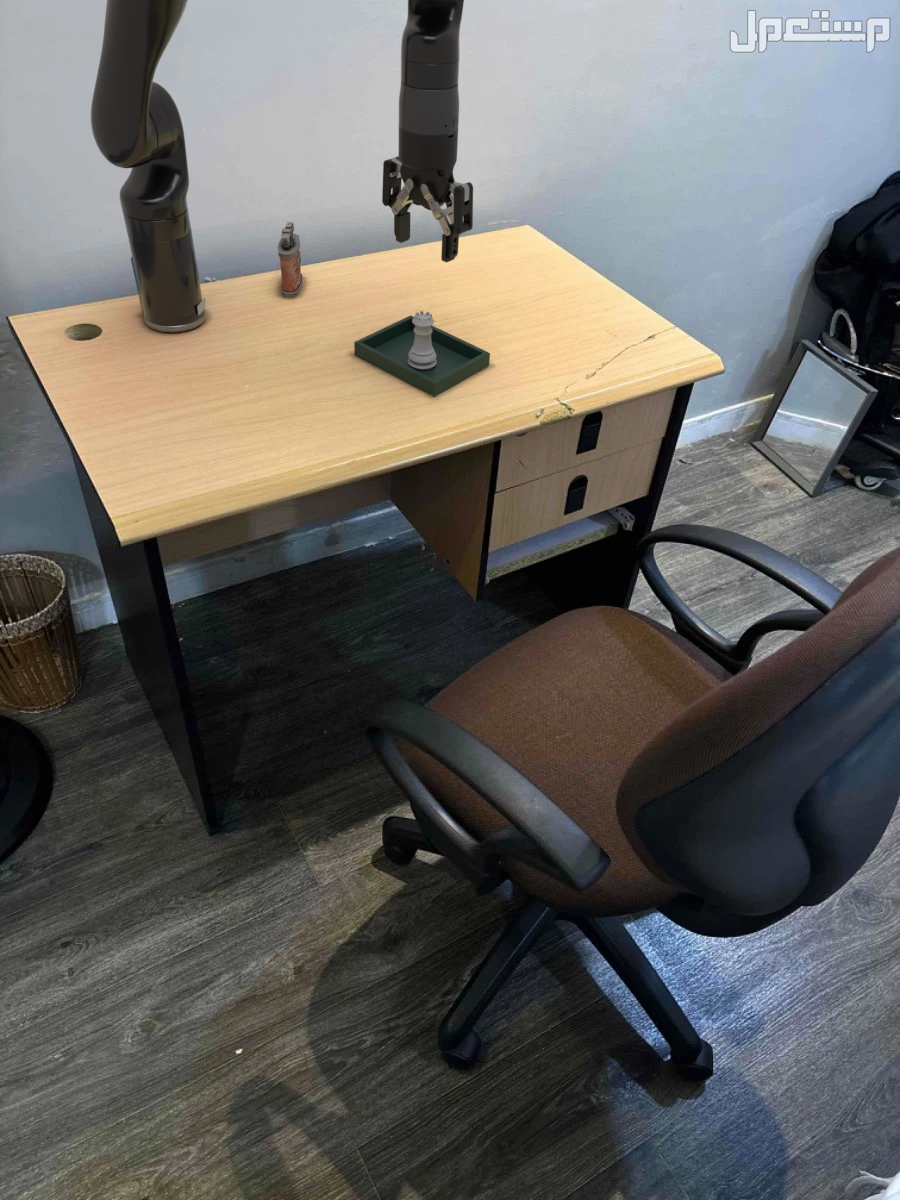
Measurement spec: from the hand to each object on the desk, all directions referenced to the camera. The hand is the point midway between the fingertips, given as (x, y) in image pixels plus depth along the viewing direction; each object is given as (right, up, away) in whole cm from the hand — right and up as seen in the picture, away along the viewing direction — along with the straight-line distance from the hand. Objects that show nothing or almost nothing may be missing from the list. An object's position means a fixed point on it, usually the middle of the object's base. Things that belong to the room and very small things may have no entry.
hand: (425, 250), depth 121 cm
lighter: (-24, +5, +29) cm, 38 cm away
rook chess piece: (-1, -13, +12) cm, 18 cm away
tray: (-1, -12, +13) cm, 18 cm away
